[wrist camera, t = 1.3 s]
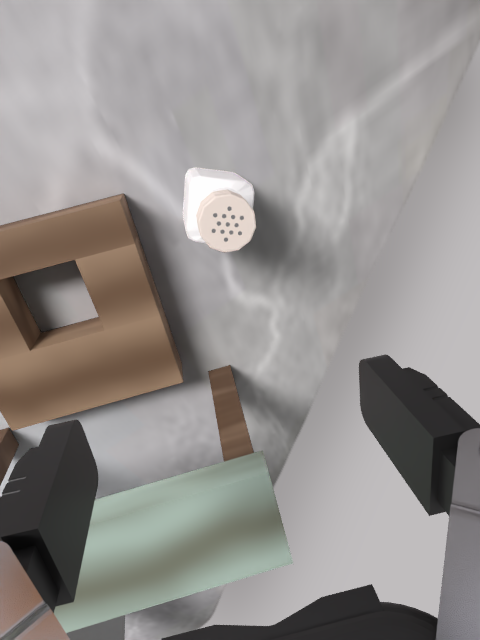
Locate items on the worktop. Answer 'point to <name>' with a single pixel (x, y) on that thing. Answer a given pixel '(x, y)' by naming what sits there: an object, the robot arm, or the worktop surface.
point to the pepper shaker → (218, 209)
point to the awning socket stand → (120, 383)
